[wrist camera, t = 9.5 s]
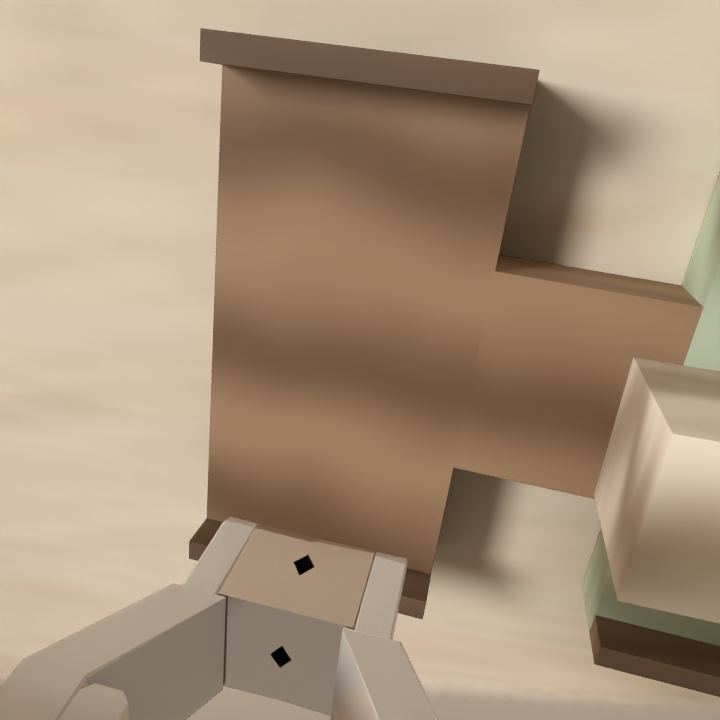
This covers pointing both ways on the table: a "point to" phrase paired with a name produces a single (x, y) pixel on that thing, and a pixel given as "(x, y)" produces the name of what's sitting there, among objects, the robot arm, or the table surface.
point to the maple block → (664, 490)
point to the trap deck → (418, 321)
